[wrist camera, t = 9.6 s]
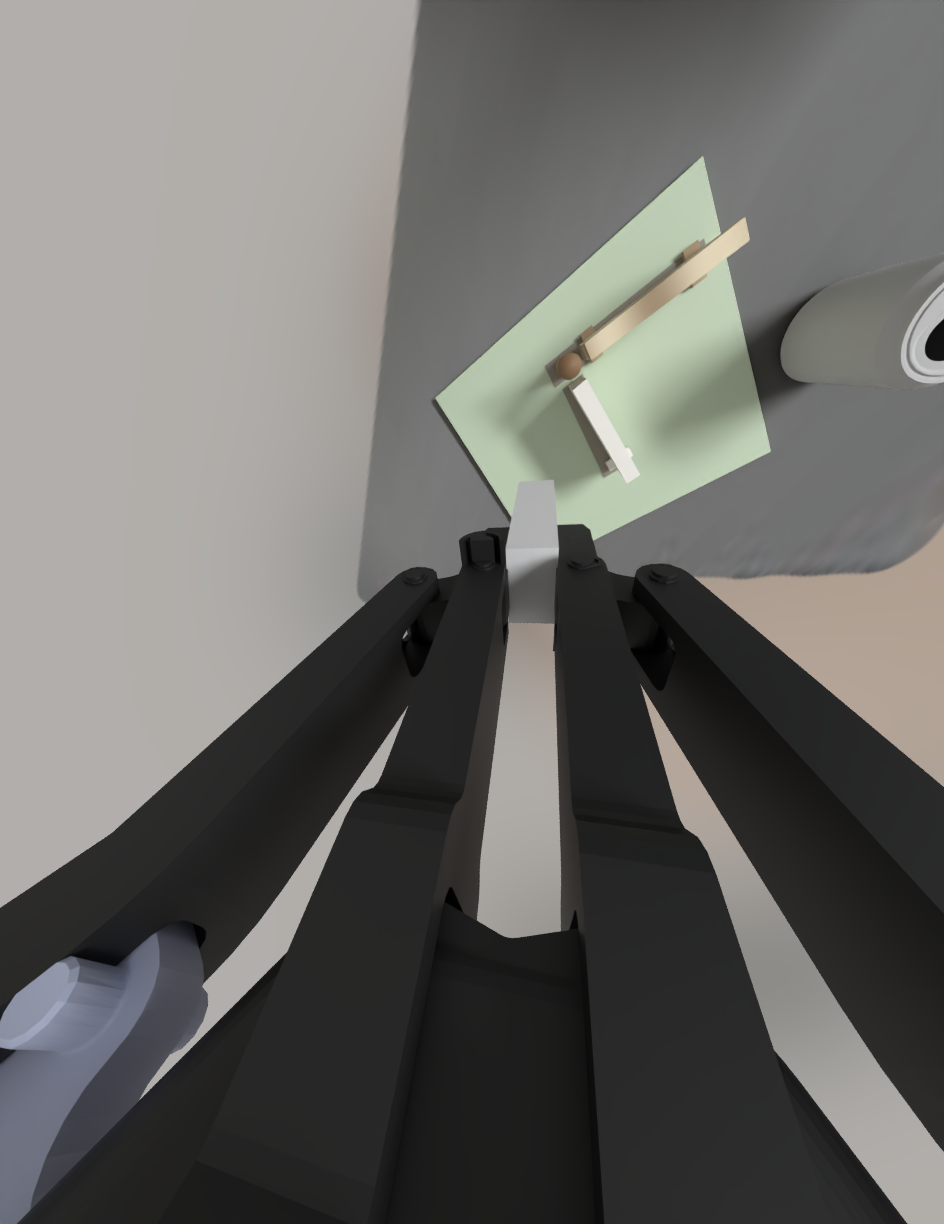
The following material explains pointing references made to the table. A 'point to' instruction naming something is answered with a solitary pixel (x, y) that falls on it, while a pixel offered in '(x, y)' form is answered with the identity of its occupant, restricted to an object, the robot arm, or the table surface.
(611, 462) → the panel
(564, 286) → the card
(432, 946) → the robot arm
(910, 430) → the table surface
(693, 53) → the table surface
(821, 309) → the beverage can
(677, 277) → the fence fixed
